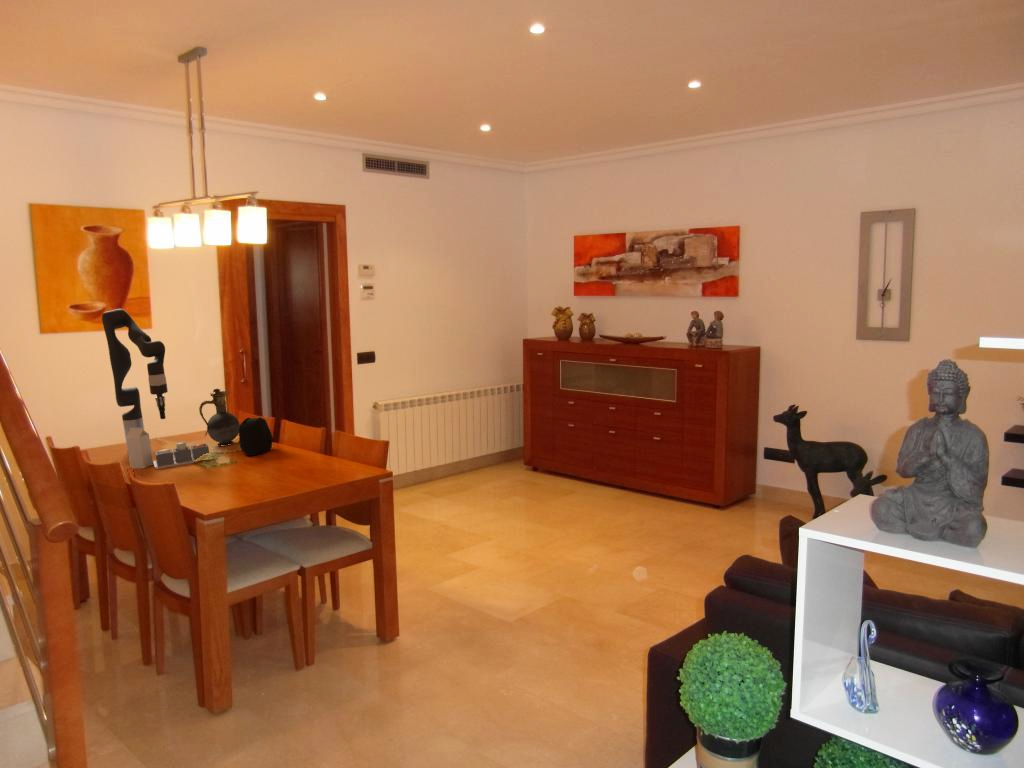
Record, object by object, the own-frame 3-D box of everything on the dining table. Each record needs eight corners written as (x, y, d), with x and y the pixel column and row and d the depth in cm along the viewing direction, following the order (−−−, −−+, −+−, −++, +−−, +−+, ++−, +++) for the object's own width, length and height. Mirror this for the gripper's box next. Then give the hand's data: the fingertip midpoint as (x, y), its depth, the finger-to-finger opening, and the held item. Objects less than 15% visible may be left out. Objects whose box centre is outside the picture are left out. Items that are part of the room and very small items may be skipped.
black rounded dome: (281, 446, 386) (277, 413, 383) (267, 456, 369) (262, 421, 366) (247, 448, 388) (243, 414, 385) (231, 457, 371) (226, 422, 368)
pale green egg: (177, 453, 370) (175, 443, 370) (186, 451, 372) (185, 441, 372) (178, 455, 367) (176, 445, 366) (187, 453, 369) (186, 443, 368)
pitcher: (244, 442, 400) (237, 386, 395) (209, 451, 387) (201, 392, 382) (235, 439, 408) (228, 384, 402) (200, 448, 394) (192, 390, 389)
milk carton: (143, 468, 361) (137, 429, 357) (130, 468, 362) (124, 429, 359) (153, 464, 368) (147, 425, 364) (140, 464, 369) (134, 426, 366)
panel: (153, 463, 370) (151, 451, 369) (209, 453, 382) (208, 441, 381) (155, 469, 358) (153, 457, 357) (214, 459, 370) (212, 447, 369)
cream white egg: (159, 460, 367) (158, 450, 366) (169, 458, 369) (168, 448, 368) (160, 462, 363) (158, 452, 362) (170, 460, 365) (168, 450, 364)
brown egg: (195, 454, 374) (193, 444, 374) (204, 452, 377) (203, 442, 376) (196, 456, 371) (194, 446, 370) (206, 454, 373) (204, 444, 372)
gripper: (148, 382, 368) (153, 417, 371) (150, 386, 356) (155, 422, 360) (165, 380, 371) (170, 415, 375) (167, 384, 360) (172, 420, 363)
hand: (163, 418), depth 367 cm, fingers closed
